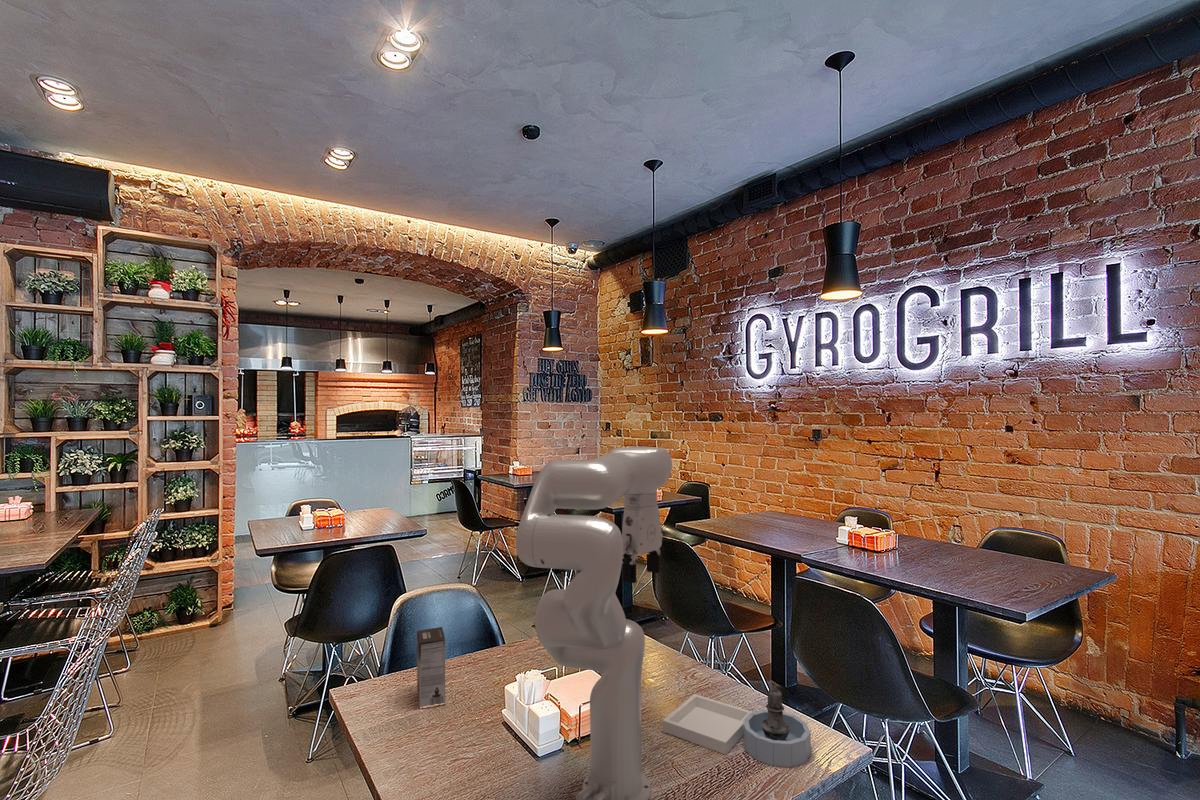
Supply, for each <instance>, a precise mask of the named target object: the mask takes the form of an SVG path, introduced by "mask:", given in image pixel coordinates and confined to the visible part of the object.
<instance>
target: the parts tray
mask: <svg viewBox="0 0 1200 800" xmlns="http://www.w3.org/2000/svg"><path fill="white" fill-rule="evenodd" d="M753 712H754V711H751V710H750V709H749V710H747V709H745V708H742V707H739V706H735V705H733V704H729V703H725V702H722V701H719V700H715V699H712V698H709V697H705V696H702V695H699V694H697V693H694V694H692V695H691V696H690V697H689V698H687V700H685V701H684V702H683V703H682V704H680V705H679V706H678V707H677V708H676V709H675V710H673V711H671V712H670V714H668V715H667V716H666V717H665V718H664V719H662V733H664V732H666V733H665V734H667V733H668V734H667V735H670V734H671V735H670V736H672V735H674V736H673V737H675V736H677V737H676V738H678V737H679V739H681V738H682V739H681V740H683V739H684V741H686V740H687V741H686V742H689V741H690V742H689V743H692V742H693V743H692V744H694V743H695V745H697V744H699V745H698V746H700V745H702V746H701V747H703V746H704V747H703V748H705V747H707V748H706V749H708V748H709V750H711V751H714V750H715V751H714V752H717V753H720V754H722V755H725V756H727V754H728V753H729V752H730V751H731V750H732V749H733V748H734V747H735V746H736V744H737V743H738V742H739V741H740V740H741V739H742V738H744V723H743V720H744V719H745V718H746V717H747V716H748V715H749V714H750V713H753ZM734 745H735V746H734ZM733 746H734V747H733ZM732 747H733V748H732Z"/></svg>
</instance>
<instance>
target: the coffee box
mask: <svg viewBox="0 0 1200 800" xmlns="http://www.w3.org/2000/svg"><path fill="white" fill-rule="evenodd" d="M416 680H417V681H416V682H417V683H416V684H417V685H416V689H417V690H416V691H417V692H418V693H417V700H419V701H418V707H423V706H427V705H434V704H441V703H445V704H446V637H445V633H444V630H443V626H439V627H438V626H437V627H432V628H426V629H421V630H419V629H418V630H417V631H416Z"/></svg>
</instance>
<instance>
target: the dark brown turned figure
mask: <svg viewBox="0 0 1200 800" xmlns="http://www.w3.org/2000/svg"><path fill="white" fill-rule="evenodd" d="M765 707H766V710H768V717H767V719H765V720H763V721H762V722H761V727H762V728H763V732H764V734H765V736H766V737H765V738H768V739H772V740H779V741H787V740H786V738H787V736H788V734H789V731H790V726H789V725H788V723H786V722H785V721H783V712H784V710H785V706H783V693H782V692H781V690H780V689H778V688H777V686H776V684H774V685H773V686H772V688H769V689H768V690H767V704H766V705H765Z"/></svg>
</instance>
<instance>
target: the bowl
mask: <svg viewBox="0 0 1200 800" xmlns="http://www.w3.org/2000/svg"><path fill="white" fill-rule="evenodd" d="M752 712H753V713H750V714H749V715H748V716H747V717H746V718H745V719H744V720H743V723H744V736H743V743H744V749H745V751H746V753H748V754H749V755H750V756H752V758H754V759H755V760H756V761H758V762H760V763H761V762H762V763H764V764H767V765H769V766H772V767H780V768H781V767H786V768H794V767H797V766H800V765H803V763H804V764H806V763H807V762H806V761H808V760H809V759H810V757H811V755H812V744H811V743H812V742H811V736H812V735H811V733H812V732H811V730H810V728H809V725H808V723H807V722H806V721H804V720H803V719H801V718H799V717H798V716H797V715H795V714H792V713H788V712H785V711H783V721H785V722H786V723H788V725H789V726H790V731H789V734H788V736H787V738H786V740H787V741H779V740H772V739H768V738H765V737H766V736H765V734H764V732H763V728H762V727H761V722H762V721H763V720H765V719H767V717H768V709H761V710H758V711H752ZM808 758H809V759H808Z"/></svg>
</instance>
